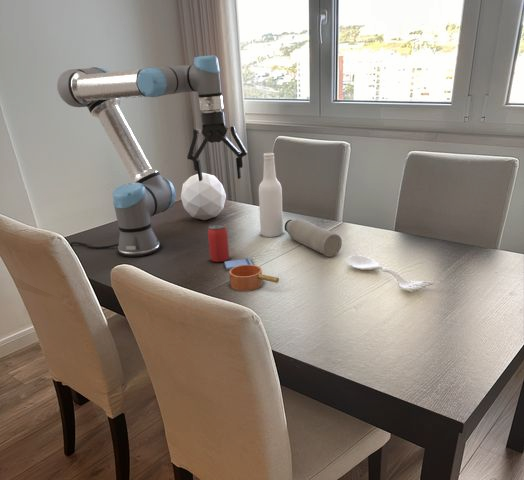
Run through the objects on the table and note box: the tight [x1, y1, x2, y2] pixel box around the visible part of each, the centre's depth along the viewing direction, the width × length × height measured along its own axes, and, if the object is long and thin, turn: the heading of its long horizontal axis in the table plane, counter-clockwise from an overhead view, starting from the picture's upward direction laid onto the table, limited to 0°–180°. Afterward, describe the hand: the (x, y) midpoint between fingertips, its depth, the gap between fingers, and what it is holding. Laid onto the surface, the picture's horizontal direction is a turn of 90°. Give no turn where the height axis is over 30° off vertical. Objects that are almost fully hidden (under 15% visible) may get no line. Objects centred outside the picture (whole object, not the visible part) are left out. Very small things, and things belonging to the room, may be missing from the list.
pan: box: [228, 264, 263, 292], centre depth 151 cm, size 10×10×4 cm
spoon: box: [346, 254, 435, 293], centre depth 150 cm, size 9×32×4 cm, turn 29°
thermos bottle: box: [284, 218, 343, 258], centre depth 178 cm, size 8×8×28 cm
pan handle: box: [258, 273, 280, 284], centre depth 146 cm, size 7×2×2 cm, turn 56°
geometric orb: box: [180, 172, 227, 221], centre depth 212 cm, size 19×20×20 cm
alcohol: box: [258, 152, 284, 238], centre depth 186 cm, size 9×9×30 cm
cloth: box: [224, 258, 253, 271], centre depth 166 cm, size 6×9×1 cm
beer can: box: [207, 223, 230, 263], centre depth 169 cm, size 7×7×12 cm
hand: (220, 179), depth 169 cm, fingers open, 13 cm apart
